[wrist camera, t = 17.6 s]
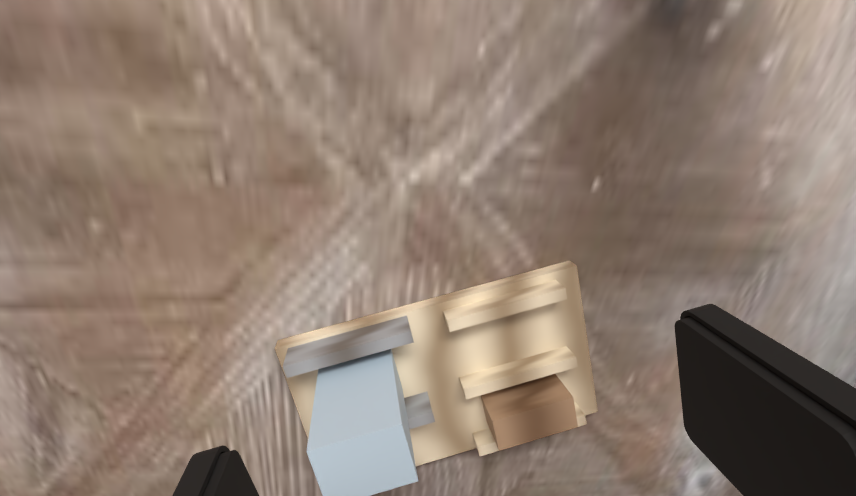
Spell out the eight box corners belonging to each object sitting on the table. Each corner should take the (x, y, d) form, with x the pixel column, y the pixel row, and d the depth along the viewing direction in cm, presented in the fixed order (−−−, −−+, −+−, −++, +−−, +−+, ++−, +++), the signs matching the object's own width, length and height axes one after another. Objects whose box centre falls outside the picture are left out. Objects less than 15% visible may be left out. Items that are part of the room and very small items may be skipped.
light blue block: (389, 342, 40) (401, 424, 30) (402, 388, 41) (418, 481, 31) (319, 362, 40) (306, 451, 29) (334, 407, 41) (327, 508, 31)
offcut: (554, 372, 43) (573, 397, 39) (558, 399, 44) (578, 426, 40) (480, 393, 43) (492, 421, 39) (486, 421, 44) (498, 450, 40)
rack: (569, 260, 42) (593, 277, 38) (590, 402, 47) (614, 431, 42) (277, 340, 40) (268, 367, 36) (328, 480, 45) (325, 519, 40)
